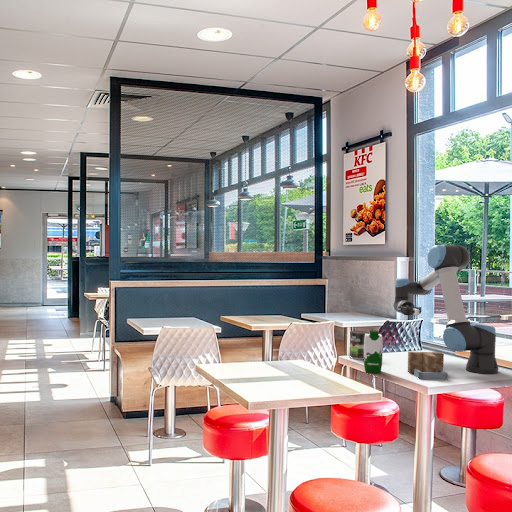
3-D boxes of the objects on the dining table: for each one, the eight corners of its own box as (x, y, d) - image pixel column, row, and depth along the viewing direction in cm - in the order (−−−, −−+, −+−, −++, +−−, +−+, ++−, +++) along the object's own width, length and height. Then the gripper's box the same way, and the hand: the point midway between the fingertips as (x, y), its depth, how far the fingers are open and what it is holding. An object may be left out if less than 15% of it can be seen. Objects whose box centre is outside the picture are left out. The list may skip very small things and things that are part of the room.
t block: (440, 372, 298) (441, 352, 298) (448, 377, 286) (449, 356, 286) (407, 372, 298) (408, 351, 298) (414, 377, 286) (414, 355, 286)
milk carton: (364, 373, 293) (365, 331, 292) (362, 369, 302) (363, 328, 301) (382, 374, 292) (383, 332, 291) (380, 370, 301) (381, 329, 300)
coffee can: (360, 360, 327) (361, 333, 327) (345, 357, 335) (346, 331, 335) (372, 358, 334) (373, 332, 334) (357, 355, 342) (357, 330, 342)
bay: (441, 375, 291) (441, 369, 291) (447, 379, 282) (447, 373, 282) (414, 375, 291) (414, 368, 291) (419, 379, 282) (419, 372, 282)
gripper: (417, 315, 335) (430, 320, 311) (393, 314, 334) (404, 319, 311) (418, 301, 334) (430, 305, 311) (394, 300, 334) (405, 304, 311)
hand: (417, 312), depth 311 cm, fingers closed
